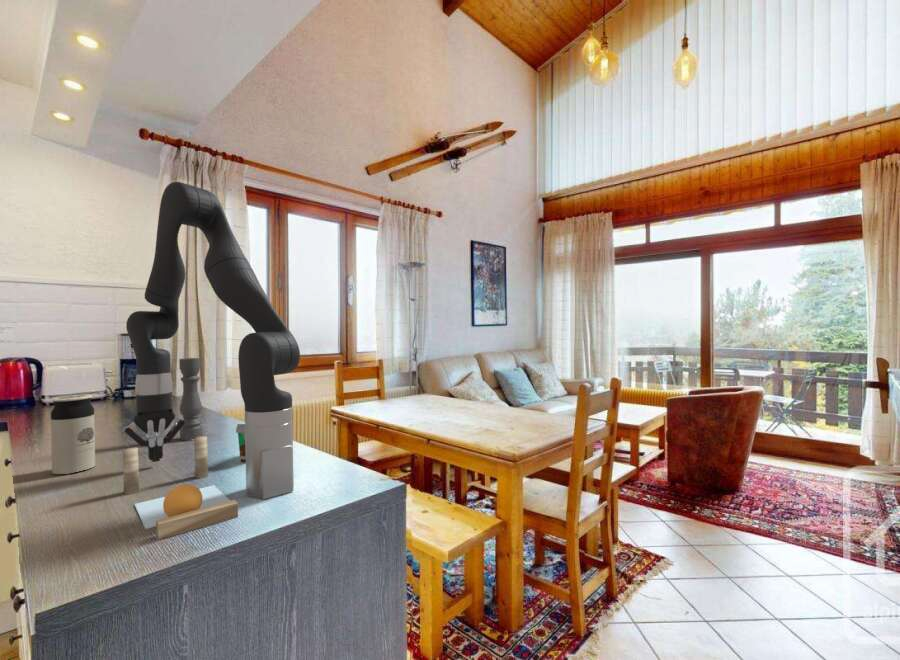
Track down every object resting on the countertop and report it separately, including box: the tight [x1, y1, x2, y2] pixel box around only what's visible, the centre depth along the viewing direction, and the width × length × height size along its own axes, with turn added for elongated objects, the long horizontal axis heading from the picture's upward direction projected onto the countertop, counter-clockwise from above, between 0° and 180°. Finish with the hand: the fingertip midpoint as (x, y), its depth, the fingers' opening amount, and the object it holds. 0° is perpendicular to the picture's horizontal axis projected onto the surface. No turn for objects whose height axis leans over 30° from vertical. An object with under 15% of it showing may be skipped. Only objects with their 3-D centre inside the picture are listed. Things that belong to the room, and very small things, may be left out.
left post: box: [122, 446, 140, 495], centre depth 90 cm, size 3×3×9 cm
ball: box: [163, 483, 202, 517], centre depth 77 cm, size 6×6×6 cm
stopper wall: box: [155, 499, 239, 541], centre depth 74 cm, size 2×12×2 cm, turn 133°
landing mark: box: [134, 484, 231, 530], centre depth 83 cm, size 14×14×1 cm
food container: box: [235, 423, 246, 463], centre depth 113 cm, size 12×6×10 cm, turn 168°
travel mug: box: [50, 394, 96, 475], centre depth 105 cm, size 8×8×18 cm
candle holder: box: [178, 357, 204, 441], centre depth 134 cm, size 6×6×25 cm
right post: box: [193, 435, 209, 479], centre depth 99 cm, size 3×3×9 cm
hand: (155, 460), depth 106 cm, fingers closed
